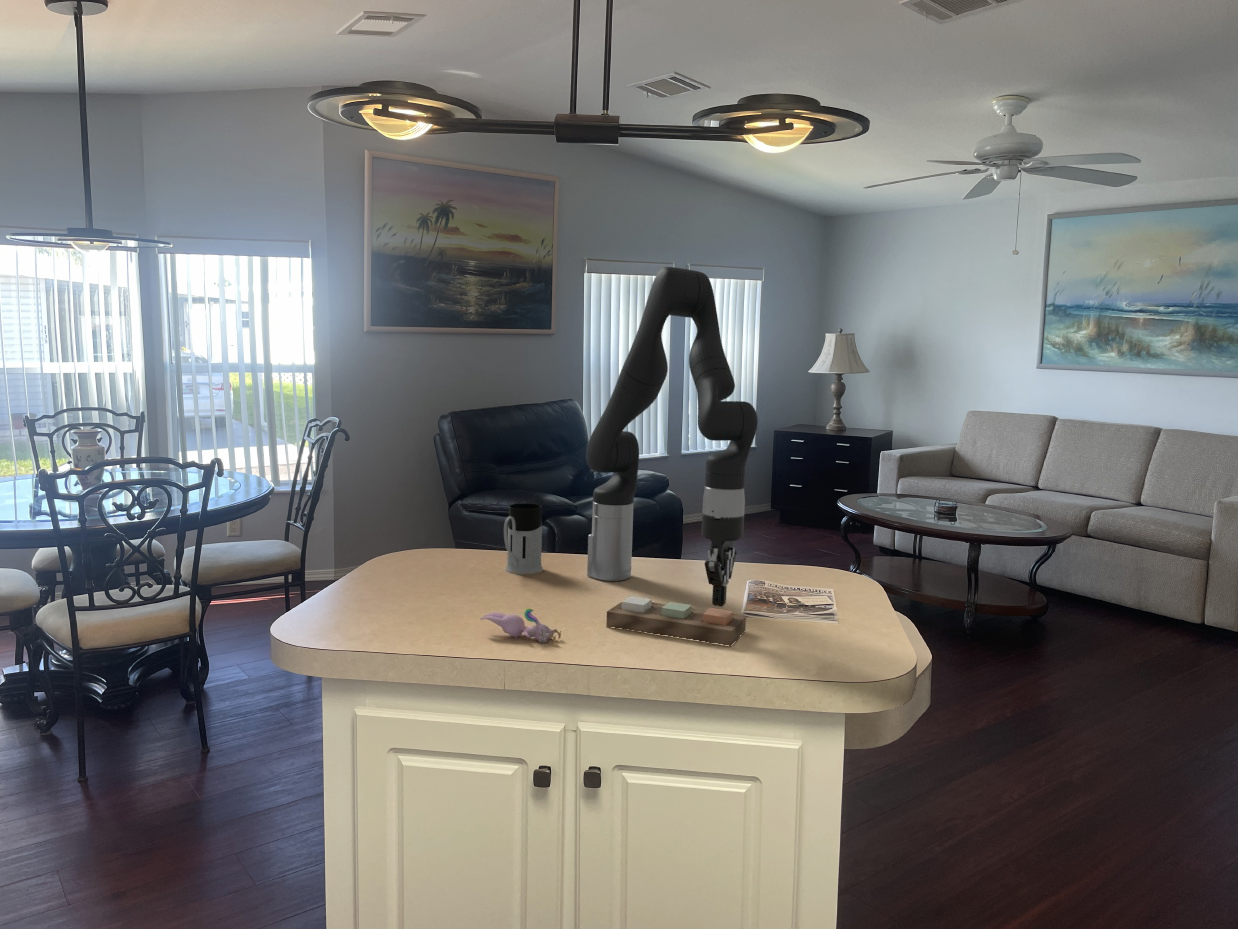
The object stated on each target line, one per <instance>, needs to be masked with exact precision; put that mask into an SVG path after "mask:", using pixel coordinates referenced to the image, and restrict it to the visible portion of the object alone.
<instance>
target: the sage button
mask: <svg viewBox="0 0 1238 929" xmlns="http://www.w3.org/2000/svg"><path fill="white" fill-rule="evenodd" d="M665 604H666V605H665V606H663V607H662V613H661V616H667V617H674V618H681V619H686V618H687V617H688V616H689V615H691V610H692V608H693V607H692V604H686V603H679V602H673V601H669V602H668V603H665Z"/></svg>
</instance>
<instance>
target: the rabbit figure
mask: <svg viewBox="0 0 1238 929" xmlns="http://www.w3.org/2000/svg"><path fill="white" fill-rule="evenodd" d="M534 611H535V610H533V609H532V608H527V609H525V611H524V618H525V620H527V621H529V622H533V623H535V625H530V626H525V621H524V619H523V618H522V617H521V616H520V615H518V614H514V613H511V614H510V613H509V614H505V613H501V612H499V611H498V612H490V613H487V614H484V615H483V616H482V617H480V618H479V619H480V620H488V621H490V622H492V623H493V624H496V625H497V626H499V627H501V629H502V631H503V633H505V634H508V635H509V636H511V637H514V638H518V637H522V635H523V634H524V636H526V637H527V638H534V639H535V640H537V641H538V642H539V643H541V644H546V643H548V641H549V640H553V641H552V644H553V645H555V643H556V642H557V641H556V638H557V636H558V638H557V639H558V640H560V639H561V638H562V630H560V631H558V629H557V628H554V629H551V628H550V627H549V626H548V625H546V624H544V623H543V624H542V623H541V622H540V621H539V619H538V617H536V615H534V614H532V612H534ZM554 634H555V635H554Z"/></svg>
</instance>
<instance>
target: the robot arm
mask: <svg viewBox="0 0 1238 929" xmlns="http://www.w3.org/2000/svg"><path fill="white" fill-rule="evenodd" d="M646 299H647V300H646V303H645V307H644V309H643V313H642V317H641V320H640V323H639V325H638V329H637V332H636V335H635V336H634V339H633V342H632V345H631V347H630V349H629V352H628V353H627V356H626V358H625V360H624V362H623V365H622V368H621V370H620V373H619V375H618V378H617V381H616V384H615V386H614V389H613V390H612V393H611V396H610V398H609V400H608V403H607V404H606V407H605V409H604V411H603V413H602V415H601V417H600V418H599V419H598V420H599V421H598V422H597V424H596V426H595V428H594V430H593V431H592V433H591V435H590V437H589V439H588V443H587V447H586V454H585V455H586V456H585V458H586V464H587V466H588V468H589V469H591V471H593V472H596V473H600V474H601V473H603V474H607V473H608V474H609V473H611V474H612V476H611V477H610V479H608V480H607V482H606V481H605V483H603V484H602V485H601V484H600V485H599V486H597V487H595V489H594V490H593V493H592V520H591V521H592V522H591V533H590V534H588V537H587V539H588V540H587V544H588V545H587V571H586V573H587V574H586V576H587V577H590V578H594V579H596V580H600V581H608V582H611V581H612V582H613V581H614V582H617V581H624V580H628V578H629V579H630V578H631V576H632V557H633V556H632V554H633V552H632V550H633V528H634V527H633V525H634V523H633V522H634V499H635V495H636V491H637V487H638V486H637V484H638V472H639V463H640V462H639V461H640V447H639V446H640V444H639V441H638V439H637V437H636V435H635V434H634V433H633V432H632V431H627V430H625V428H626V427H628V425H629V424H630V423H631V422H633V421H634V420H635V419H636V418H637V417H639V416H640V415H641V414H642V413H644V411H646V410H647V409H648V408H649V407H650V406H651V405H652V404H653V403H654V402H655V401H656V399H657V398H658V396H659V394H660V391H661V389H662V387H663V385H664V383H665V380H666V377H667V375H668V371H669V367H668V360H667V359H668V358H667V356H666V352H665V348H664V344H663V339H662V336H663V329H664V326H665V323H666V321H667V319H668V317H669V316H673V317H681V318H691V320H692V321H693V322H694V324H695V325H694V326H695V327H696V336H695V338H694V340H693V343H692V345H691V348H690V349H689V350H690V351H689V354H688V366H689V370H690V374H691V376H692V380H693V383H694V386H695V389H696V394H697V396H696V397H697V428H698V430H699V433H700V434H701V435H702V436H703V437H704V438H705V439H706V440H708V441H717V442H718V441H724V442H725V441H729V443H728V445H727V447H726V448H725V449H723V450H722V451H719V452H717V453H716V452H715V453H713V454H711V455H709V456H707V458H706V461H705V476H704V478H705V479H704V492H703V498H702V515H701V536H702V537H703V538H704V539H707V540H708V539H709V541H711V543H710V547H709V548H708V551H707V557H708V560H707V559H706V560H705V561H704V567H705V573H706V577H707V581H708V584H709V585H711V586H712V599H711V601H712V602H711V603H712V605H713V606H714V607H715V606H716V607H724V606H725V605H726V604H727V591H728V590H727V589H728V588H727V586H728V584H729V583H730V582H729V580H731V579H732V575H733V570H734V565H735V561H736V556H737V554H738V552H737V549H735V547H733V546H734V542H735V541H740V540H741V539H743V537H744V528H745V527H744V526H745V525H744V523H745V506H746V504H745V503H746V500H745V498H746V497H745V477H746V465H747V460H748V458H749V455H750V451H751V448H752V444H753V442H754V439H755V436H756V434H757V429H758V422H759V421H758V420H759V419H758V414H757V411H756V409H755V407H754V405H753V404H751V403H750V402H748V401H741V400H740V401H738V400H737V401H735V400H734V401H733V400H725V399H728V398H729V397H731V395H733V393H734V391H735V388H736V384H735V379H734V375H733V373H732V370H731V368H730V365H729V362H728V360H727V356H726V354H725V351H724V348H723V343H722V339H721V338H722V337H721V332H720V324H719V318H718V311H717V306H716V299H715V294H714V289H713V286H712V282H711V280H710V277H708V276H707V274H706V273H704V272H702V271H699V270H698V271H697V270H693V269H687V268H681V267H673V266H664V267H662V268H661V269H660V270H659V271H658V273H656V275H655V277H654V280H653V281H652V284H651V287H650V290H649V293H648V296H647V298H646Z"/></svg>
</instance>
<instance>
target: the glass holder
mask: <svg viewBox="0 0 1238 929" xmlns="http://www.w3.org/2000/svg"><path fill="white" fill-rule="evenodd" d="M542 506H543V505H541V504H538V503H527V502H526V503H525V502H524V503H523V502H520V503H513V504H509V506H508V516H507V518H505V520H504V523H503V539H504V540H503V541H504V544H505V545H504V546H505V548H506V551H507V553H506V555H507V558H506V559H507V560H506V561H507V562H506V566H505V569H504V570H505V572H507V573H510V574H514V573H515V575H516V574H517V575H534V574H535V575H536V574H539V573H541V572H543V570H544V568H543V566H542V543H543V542H542V540H543V539H542V538H543V537H542V536H543V525H542V524H543V523H542V509H543V508H542Z"/></svg>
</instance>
